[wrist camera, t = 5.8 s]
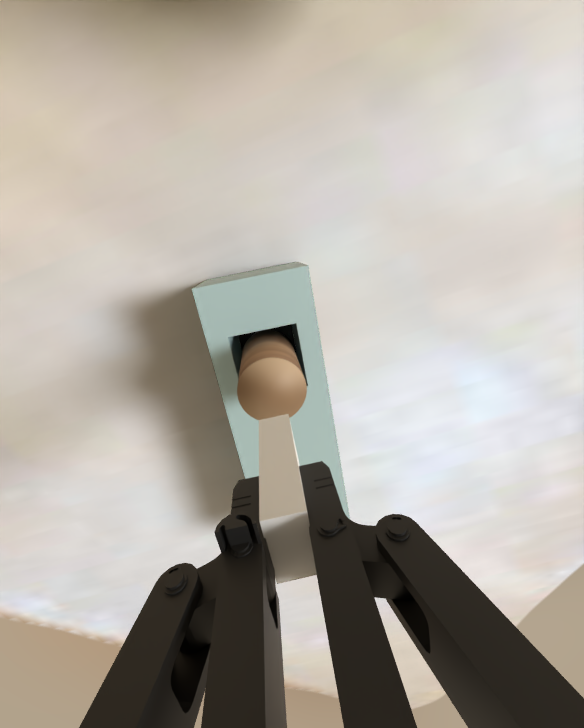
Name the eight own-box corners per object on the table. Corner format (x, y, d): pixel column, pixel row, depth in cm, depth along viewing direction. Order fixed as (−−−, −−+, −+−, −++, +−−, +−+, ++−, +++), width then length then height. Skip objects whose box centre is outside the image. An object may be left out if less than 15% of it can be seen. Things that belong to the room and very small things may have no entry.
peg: (236, 336, 29) (229, 366, 22) (289, 325, 29) (300, 351, 22) (248, 384, 31) (245, 428, 23) (298, 374, 31) (312, 414, 23)
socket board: (206, 279, 33) (191, 289, 26) (296, 261, 33) (308, 265, 26) (266, 505, 42) (268, 560, 35) (336, 489, 43) (353, 541, 35)
